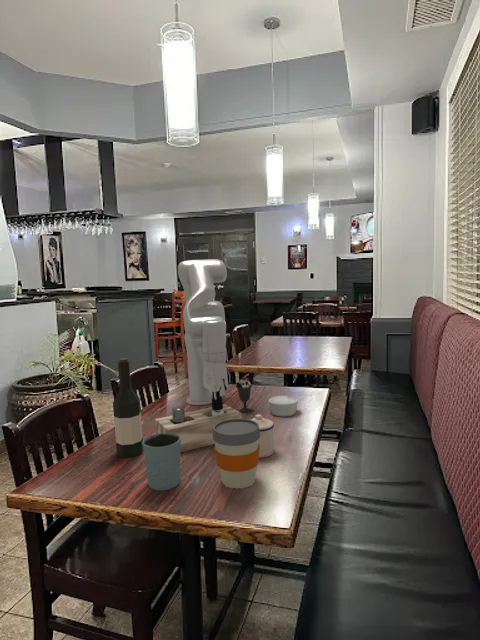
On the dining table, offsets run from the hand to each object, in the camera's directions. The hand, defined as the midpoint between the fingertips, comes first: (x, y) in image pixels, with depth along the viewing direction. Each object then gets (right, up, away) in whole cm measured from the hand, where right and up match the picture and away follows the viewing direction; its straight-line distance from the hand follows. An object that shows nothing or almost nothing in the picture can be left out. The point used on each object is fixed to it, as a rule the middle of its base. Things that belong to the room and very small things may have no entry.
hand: (217, 409), depth 151 cm
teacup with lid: (+12, -10, -14) cm, 21 cm away
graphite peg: (-12, -6, -6) cm, 15 cm away
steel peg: (0, -8, +1) cm, 8 cm away
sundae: (+10, -6, +25) cm, 28 cm away
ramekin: (+24, -6, +21) cm, 32 cm away
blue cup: (-13, -14, -31) cm, 36 cm away
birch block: (-6, -9, -3) cm, 11 cm away
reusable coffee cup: (+7, -13, -32) cm, 35 cm away
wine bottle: (-27, -12, -11) cm, 31 cm away
